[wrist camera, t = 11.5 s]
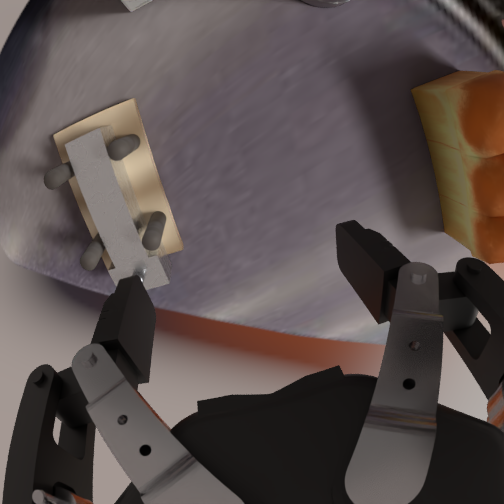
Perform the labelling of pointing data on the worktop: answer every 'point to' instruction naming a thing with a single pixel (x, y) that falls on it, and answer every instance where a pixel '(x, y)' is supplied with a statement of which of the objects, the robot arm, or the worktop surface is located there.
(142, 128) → the rack
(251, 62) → the worktop surface
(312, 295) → the worktop surface
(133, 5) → the ink box
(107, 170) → the grey pegged bar
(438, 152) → the bread
